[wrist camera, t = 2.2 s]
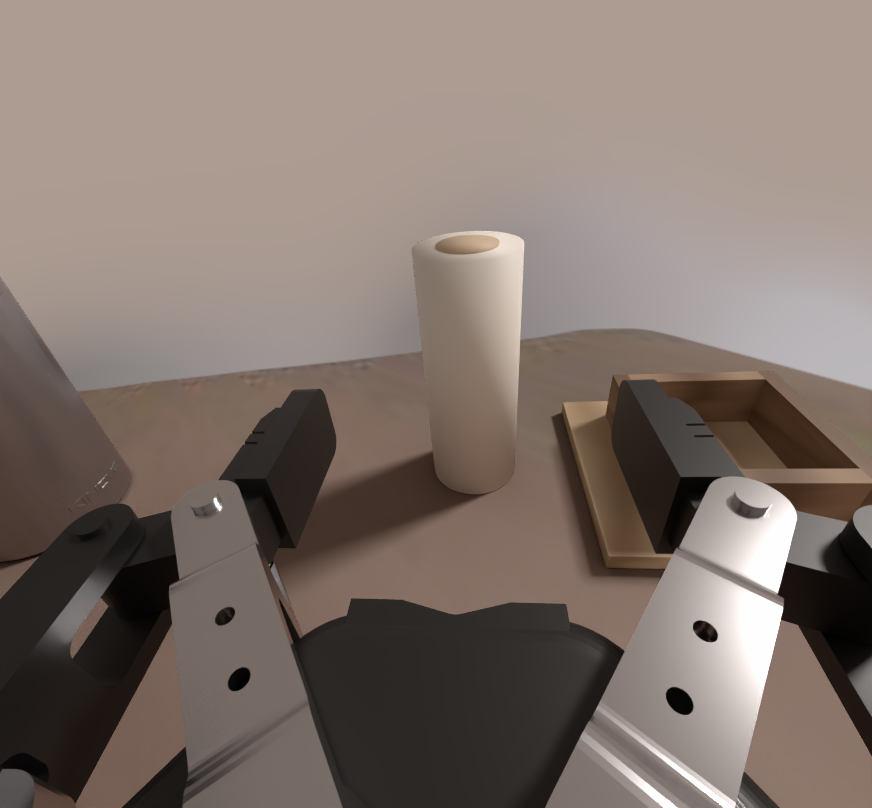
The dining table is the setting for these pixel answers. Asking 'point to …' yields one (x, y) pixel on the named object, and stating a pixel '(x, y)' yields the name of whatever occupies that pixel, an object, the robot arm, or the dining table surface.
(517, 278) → the paper towel roll
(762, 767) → the dining table surface
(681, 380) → the open wooden box
